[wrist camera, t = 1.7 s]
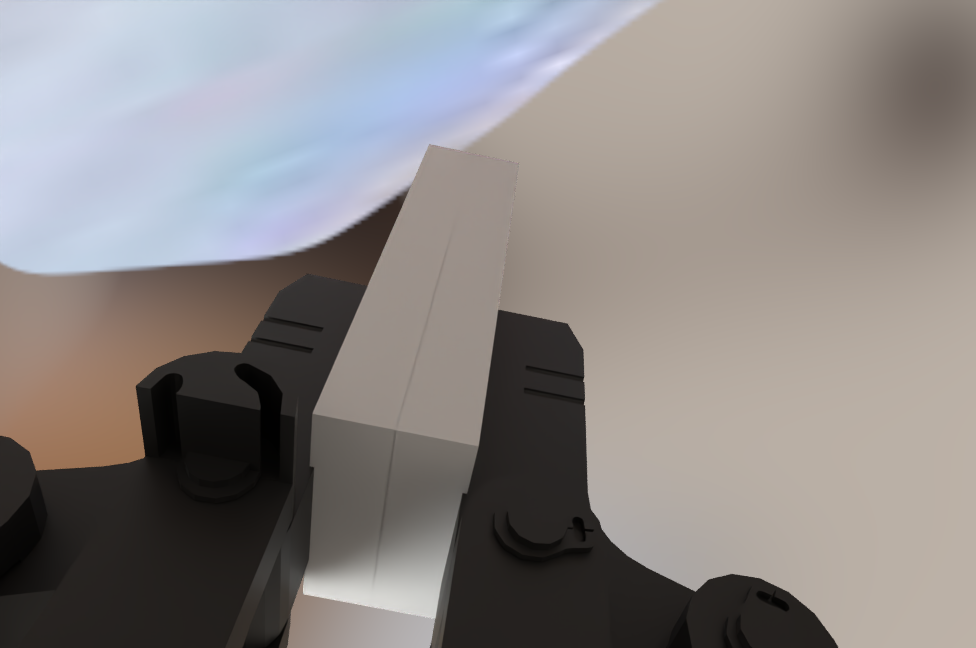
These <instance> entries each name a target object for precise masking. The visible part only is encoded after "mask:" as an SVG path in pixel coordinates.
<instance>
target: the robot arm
mask: <svg viewBox="0 0 976 648" xmlns="http://www.w3.org/2000/svg"><path fill="white" fill-rule="evenodd" d="M518 167H519V163H517V162H512V161H507V160H502V159H497V158H492V157H488V156H483V155H478V154H473V153H469V152H464V151H459V150H454V149H449V148H445V147H440V146H435V145H430V144H429V146H428V149H427V151H426V153H425V156H424V158H423V160H422V162H421V165H420V167H419V169H418V172H417V174H416V176H415V179H414V181H413V183H412V185H411V188H410V190H409V192H408V195H407V197H406V199H405V202H404V204H403V206H402V209H401V211H400V213H399V215H398V218H397V220H396V222H395V225H394V227H393V229H392V232H391V234H390V236H389V238H388V241H387V243H386V245H385V248H384V250H383V252H382V255H381V257H380V259H379V262H378V264H377V266H376V268H375V271H374V273H373V276H372V278H371V280H370V282H369V284H368V286H365V285H360V284H355V283H350V282H345V281H340V280H336V279H331V278H325V277H320V276H316V275H311V274H307V275H305V276H303V277H302V278H300V279H299V280H297V281H295V282H294V283H292V284H291V285H289V286H287V287H286V288H284V289H283V290H281V291H279V293H278V294H277V296H276V298H275V299H274V301H273V303H272V304H271V306H270V307H269V309H268V311H267V312H266V314H265V316H264V320H263V321H261V322H260V324H259V325H258V327H257V328H256V330H255V332H254V333H253V335H252V338H251V341H249V342H248V343H247V345H246V346H245V348H244V349H243V351H242V353H232V352H219V351H213V352H207V353H201V354H195V355H189V356H183V357H181V358H179V359H176V360H174V361H172V362H169V363H167V364H165V365H163V366H161V367H158V368H156V369H155V370H154V371H152V372H151V373H150V374H149V375H148V376H147V377H146V378H144V379H143V380H142V381H141V382H140V383H139V384H138V385H136V391H137V399H138V406H139V413H140V420H141V427H142V435H143V442H144V449H145V457H144V458H143V459H140V460H136V461H133V462H130V463H124V464H118V465H111V466H104V467H87V468H72V469H55V470H39V471H36V469H35V466H34V464H33V461H32V458H31V455H30V452H29V451H27V450H26V449H25V448H23V447H22V446H21V445H19V444H18V443H17V442H15V441H14V440H13V439H11V438H9V437H4V436H0V648H287V645H288V637H289V629H290V616H291V609H292V606H293V603H294V600H295V598H296V595H297V592H298V589H299V586H300V584H301V581H302V578H303V575H304V587H303V594H306V595H311V596H317V597H322V598H328V599H332V600H338V601H343V602H348V603H353V604H359V605H364V606H369V607H375V608H380V609H385V610H391V611H396V612H401V613H407V614H412V615H417V616H422V617H427V618H433V619H435V624H434V630H433V636H432V642H431V646H430V648H838V646H837V644H836V643H835V641H834V639H833V638H832V637H831V635H830V634H829V633H828V631H827V630H826V629H825V627H824V626H823V625H822V623H821V622H820V621H819V619H818V618H817V617H816V615H815V614H814V613H813V612H812V611H811V610H809V609H808V608H807V607H806V606H805V605H803V604H802V603H801V602H799V600H797V599H796V598H795V597H794V596H792V595H791V594H790V593H789V592H787V591H785V590H783V589H781V588H779V587H777V586H774V585H772V584H770V583H768V582H766V581H764V580H762V579H760V578H754V577H748V576H741V575H735V574H730V575H726V576H722V577H717V578H713V579H709V580H708V581H707V582H706V583H705V584H704V585H702V586H701V587H700V588H699V589H698V590H697V591H696V592H695V591H693V590H691V589H689V588H687V587H685V586H683V585H681V584H678V583H676V582H674V581H672V580H670V579H668V578H666V577H664V576H662V575H660V574H658V573H656V572H654V571H652V570H650V569H648V568H646V567H645V566H643V565H641V564H640V563H638V562H636V561H635V560H633V559H632V558H630V557H628V556H627V555H626V554H624V552H622V551H621V550H620V549H619V548H618V547H617V546H616V545H614V544H613V543H612V542H611V541H610V539H609V538H608V537H607V536H606V534H605V533H604V532H603V530H602V529H601V525H600V522H599V520H598V518H597V517H596V516H595V514H594V513H593V512H592V511H591V508H590V503H589V497H588V486H587V457H586V425H585V424H586V423H585V422H586V421H585V405H584V401H585V389H584V382H583V379H584V358H583V357H584V356H583V348H582V347H581V345H580V344H579V342H578V341H577V339H576V337H575V335H574V334H573V332H572V330H571V329H570V327H569V325H568V324H566V323H562V322H556V321H552V320H547V319H542V318H537V317H532V316H527V315H522V314H516V313H512V312H507V311H502V310H498V307H499V300H500V294H501V286H502V279H503V272H504V266H505V258H506V252H507V245H508V238H509V231H510V224H511V216H512V209H513V203H514V196H515V189H516V181H517V175H518Z"/></svg>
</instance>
